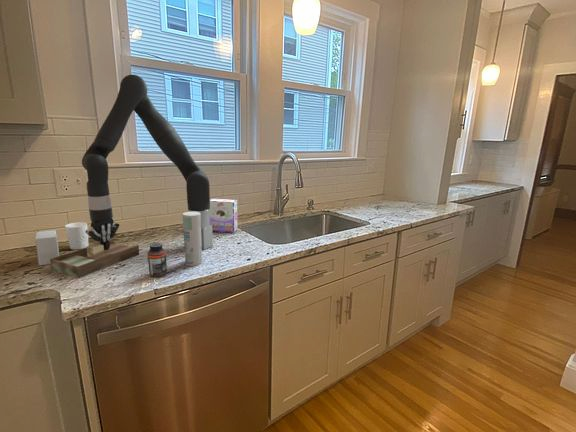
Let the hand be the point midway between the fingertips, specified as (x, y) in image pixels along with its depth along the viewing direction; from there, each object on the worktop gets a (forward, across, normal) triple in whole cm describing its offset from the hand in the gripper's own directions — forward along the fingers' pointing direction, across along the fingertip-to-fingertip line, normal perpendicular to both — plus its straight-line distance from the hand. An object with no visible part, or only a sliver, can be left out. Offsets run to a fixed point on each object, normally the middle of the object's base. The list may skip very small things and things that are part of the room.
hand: (105, 249), depth 125 cm
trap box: (+4, -4, 0) cm, 5 cm away
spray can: (+4, +13, -33) cm, 35 cm away
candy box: (+4, +53, -17) cm, 56 cm away
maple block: (+1, -4, 0) cm, 4 cm away
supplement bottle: (+4, -1, -29) cm, 29 cm away
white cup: (+4, +2, +21) cm, 22 cm away
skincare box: (+4, -11, +17) cm, 21 cm away
